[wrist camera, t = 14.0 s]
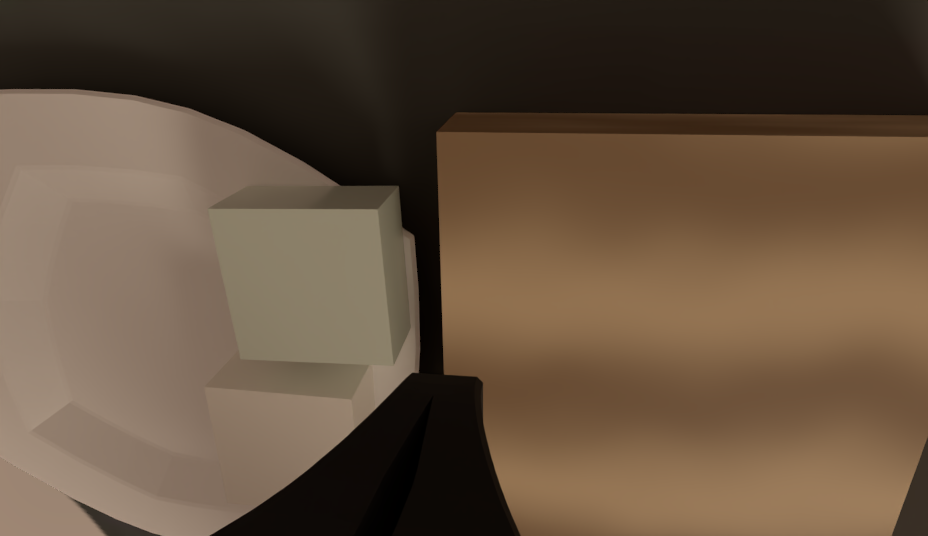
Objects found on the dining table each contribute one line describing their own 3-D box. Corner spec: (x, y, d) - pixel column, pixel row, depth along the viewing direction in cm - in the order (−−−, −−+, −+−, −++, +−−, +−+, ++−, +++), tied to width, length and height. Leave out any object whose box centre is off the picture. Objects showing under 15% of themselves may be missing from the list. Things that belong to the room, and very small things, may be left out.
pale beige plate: (-13, 439, 28) (-51, 468, 26) (-47, 16, 20) (-106, 16, 18) (370, 564, 28) (358, 602, 26) (488, 186, 20) (482, 202, 18)
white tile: (379, 469, 23) (361, 517, 21) (257, 457, 23) (227, 502, 21) (372, 359, 21) (351, 399, 19) (239, 349, 21) (203, 386, 19)
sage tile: (410, 327, 20) (393, 365, 18) (273, 323, 21) (240, 359, 19) (398, 185, 18) (377, 209, 16) (247, 186, 19) (207, 208, 17)
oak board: (817, 534, 23) (861, 617, 20) (463, 501, 25) (450, 572, 21) (943, 115, 17) (1036, 138, 13) (456, 112, 18) (436, 131, 15)
